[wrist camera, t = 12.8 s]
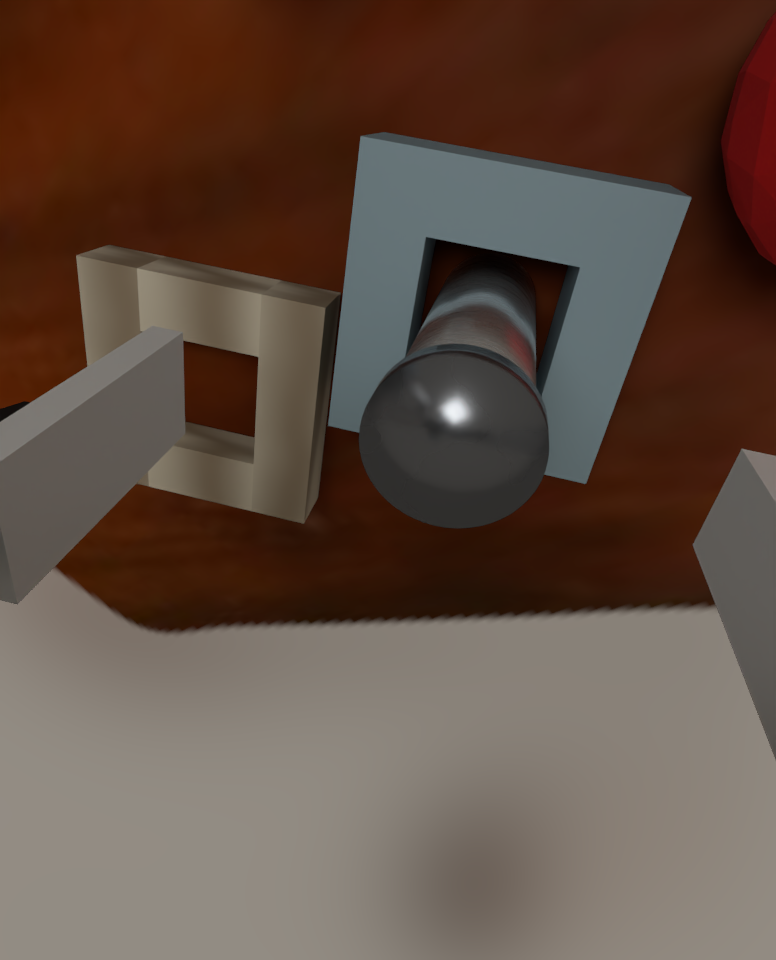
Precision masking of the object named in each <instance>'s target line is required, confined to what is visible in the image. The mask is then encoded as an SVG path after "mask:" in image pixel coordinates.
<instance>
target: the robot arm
mask: <svg viewBox="0 0 776 960" xmlns="http://www.w3.org/2000/svg"><path fill="white" fill-rule="evenodd" d="M184 434H185V400H184V358H183V332H180V331H175V330H170V329H165V328H161V327H156V326H151V327H150V328H148V329H146V330H145V331H143V332H142V333H140V334H138V335H137V336H135V337H134V338H132V339H131V340H129V341H127V342H126V343H124V344H123V345H121V346H120V347H118V348H116V349H115V350H113V351H112V352H110V353H108V354H107V355H105V356H104V357H102V358H101V359H99V360H97V361H96V362H94V363H93V364H91V365H89V366H88V367H86V368H85V369H83V370H82V371H80V372H78V373H77V374H75V375H74V376H72V377H70V378H69V379H67V380H66V381H64V382H63V383H61V384H59V385H58V386H56V387H55V388H53V389H51V390H50V391H48V392H47V393H45V394H44V395H42V396H40V397H39V398H37V399H36V400H34V401H32V402H31V403H29V402H25V401H24V402H21V403H18V404H15V405H12V406H8V407H5V408H2V409H0V600H2V601H6V602H10V603H14V604H18V603H19V602H20V601H21V600H22V599H23V598H24V597H25V596H26V595H27V594H28V593H29V592H30V591H31V590H32V589H33V588H34V587H35V586H36V585H37V584H38V583H39V582H40V581H41V580H42V579H43V578H44V577H45V576H46V575H47V574H48V573H49V572H50V571H51V570H52V569H53V568H54V567H55V566H56V565H57V564H58V563H59V562H60V561H61V559H62V558H63V557H64V556H65V555H66V554H67V553H68V552H69V551H70V550H71V549H72V548H73V547H74V546H75V545H76V544H77V543H78V542H79V541H80V540H81V539H82V538H83V537H84V536H85V535H86V534H87V533H88V532H89V531H90V530H91V529H92V528H93V527H94V526H95V525H96V524H97V523H98V522H99V521H100V520H101V519H102V518H103V517H104V516H105V515H106V514H107V513H108V512H109V511H110V510H111V509H112V508H113V507H114V506H115V505H116V504H117V502H118V501H119V500H120V499H121V498H122V497H123V496H124V495H125V494H126V493H127V492H128V491H129V490H130V489H131V488H132V487H133V486H134V485H135V484H136V483H137V482H138V481H139V480H140V479H141V478H142V477H143V476H144V475H145V474H146V473H147V472H148V471H149V470H150V469H151V468H152V467H153V466H154V465H155V464H156V463H157V462H158V461H159V460H160V459H161V458H162V457H163V456H164V455H165V454H166V453H167V452H168V451H169V450H170V449H171V448H172V447H173V445H174V444H175V443H176V442H177V441H178V440H179V439H180V438H181V437H182V436H183V435H184ZM693 547H694V550H695V553H696V555H697V558H698V560H699V563H700V565H701V568H702V571H703V573H704V576H705V578H706V581H707V583H708V586H709V589H710V591H711V594H712V596H713V599H714V602H715V604H716V607H717V609H718V612H719V614H720V617H721V619H722V622H723V624H724V627H725V630H726V632H727V635H728V638H729V640H730V643H731V645H732V648H733V650H734V653H735V656H736V658H737V661H738V663H739V666H740V668H741V671H742V673H743V676H744V679H745V681H746V684H747V687H748V689H749V692H750V694H751V697H752V700H753V702H754V705H755V707H756V710H757V713H758V715H759V718H760V720H761V723H762V725H763V728H764V730H765V733H766V736H767V738H768V741H769V744H770V746H771V749H772V751H773V754H774V756H775V759H776V456H773V455H769V454H764V453H759V452H754V451H749V450H745V449H741V451H740V453H739V455H738V457H737V459H736V461H735V463H734V465H733V467H732V469H731V471H730V473H729V475H728V477H727V479H726V481H725V483H724V485H723V487H722V489H721V491H720V493H719V495H718V496H717V498H716V500H715V502H714V504H713V506H712V508H711V510H710V512H709V514H708V516H707V518H706V520H705V522H704V524H703V526H702V528H701V530H700V532H699V534H698V536H697V538H696V540H695V542H694V544H693Z"/></svg>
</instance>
